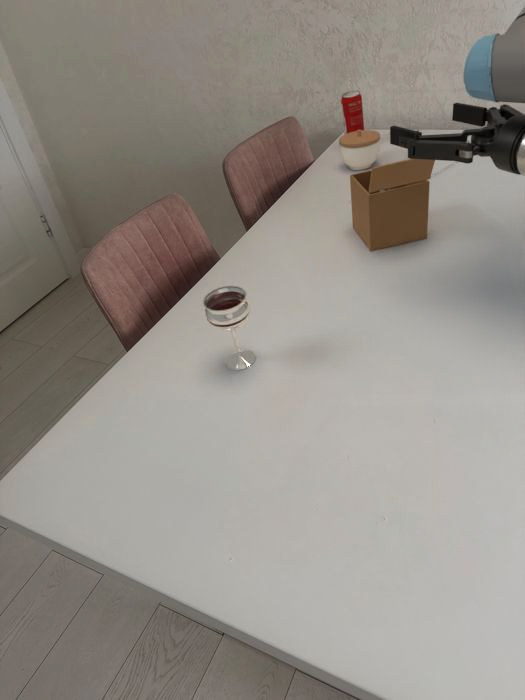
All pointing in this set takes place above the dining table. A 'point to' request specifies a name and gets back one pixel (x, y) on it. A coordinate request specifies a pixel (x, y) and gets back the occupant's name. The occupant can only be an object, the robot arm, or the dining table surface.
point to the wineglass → (230, 319)
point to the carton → (389, 212)
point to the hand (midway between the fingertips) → (423, 122)
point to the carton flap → (400, 173)
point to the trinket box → (360, 148)
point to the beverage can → (352, 111)
